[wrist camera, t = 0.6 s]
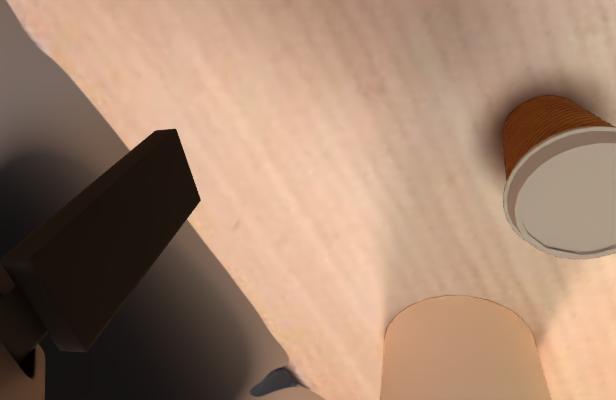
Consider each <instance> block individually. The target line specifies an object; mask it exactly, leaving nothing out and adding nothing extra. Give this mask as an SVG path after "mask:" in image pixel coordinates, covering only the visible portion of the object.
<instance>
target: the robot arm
mask: <svg viewBox="0 0 616 400" xmlns="http://www.w3.org/2000/svg"><path fill="white" fill-rule="evenodd" d="M200 201H201V199H200V196H199V194H198V191H197V188H196V185H195V182H194V179H193V176H192V173H191V170H190V168H189V165H188V162H187V159H186V156H185V153H184V150H183V147H182V145H181V142H180V139H179V136H178V133H177V130H176V129H167V130H156V131H154V132H153V133H152V134H151V135H149V136H148V137H147V138H146V139H145V140H143V141H142V142H141V143H140V144H139V145H137V146H136V147H135V148H134V149H133V150H131V151H130V152H129V153H128V154H127V155H125V156H124V157H123V158H122V159H121V160H119V161H118V162H117V163H116V164H115V165H114V166H112V167H111V168H110V169H109V170H107V171H106V172H105V173H104V174H102V175H101V176H100V177H99V178H98V179H96V180H95V181H94V182H93V183H92V184H90V185H89V186H88V187H87V188H86V189H84V190H83V191H82V192H81V193H80V194H78V195H77V196H76V197H75V198H73V199H72V200H71V201H70V202H69V203H67V204H66V205H65V206H64V207H63V208H61V209H60V210H59V211H58V212H57V213H55V214H54V215H53V216H52V217H51V218H49V219H48V220H47V221H46V222H45V223H43V224H42V225H41V226H40V227H39V228H37V229H36V230H35V231H34V232H32V233H31V234H30V235H29V236H28V237H26V238H25V239H24V240H23V241H22V242H21V243H19V244H18V245H17V246H16V247H14V248H13V249H12V250H11V251H10V252H8V253H7V254H6V255H5V256H4V257H2V258H1V259H0V400H45V355H44V352H43V350H42V349H41V348H40V346H39V342H40V341H41V340H42V339H43V338H44V337H45V336H46V334H47V333H48V334H49V335H50V336H51V338H52V339H53V341H54V342H55V344H56V345H57V347H58V348H59V350H60V351H75V352H88V350H89V349H90V348H91V346H92V345H93V343H94V342H95V341H96V340H97V338H98V337H99V335H100V334H101V333H102V332H103V330H104V329H105V328H106V326H107V325H108V323H109V322H110V321H111V319H112V318H113V317H114V315H115V314H116V313H117V311H118V310H119V309H120V307H121V306H122V305H123V303H124V302H125V301H126V299H127V298H128V297H129V295H130V294H131V293H132V291H133V290H134V289H135V287H136V286H137V285H138V283H139V282H140V281H141V279H142V278H143V277H144V275H145V274H146V273H147V271H148V270H149V269H150V267H151V266H152V265H153V263H154V262H155V261H156V259H157V258H158V257H159V255H160V254H161V253H162V251H163V250H164V249H165V247H166V246H167V245H168V243H169V242H170V241H171V239H172V238H173V237H174V235H175V234H176V233H177V231H178V230H179V229H180V227H181V226H182V225H183V223H184V222H185V221H186V219H187V218H188V217H189V215H190V214H191V213H192V211H193V210H194V209H195V207H196V206H197V205H198V203H199V202H200Z"/></svg>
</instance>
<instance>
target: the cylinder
mask: <svg viewBox="0 0 616 400" xmlns="http://www.w3.org/2000/svg"><path fill="white" fill-rule="evenodd" d="M380 400H552V399H551V396H550V392H549V389H548V386H547V382H546V379H545V375H544V372H543V368H542V365H541V362H540V358H539V355H538V351H537V348H536V344H535V341H534V337H533V334H532V332H531V330H530V329H529V328H528V326H527V325H526V324H525V322H524V321H523V320H522V319H521V318H520V317H518V316H517V315H516V314H514V313H513V312H512V311H510V310H509V309H508V308H505V307H503V306H501V305H498V304H496V303H494V302H491V301H489V300H484V299H480V298H475V297H470V296H442V297H436V298H430V299H426V300H423V301H421V302H418V303H416V304H413V305H411V306H409V307H407V308H406V309H405V310H403V311H402V312H400V313H399V314H398V315H396V317H395V318H394V319H393V321H392V322H391V323H390V325H389V326H388V328H387V331H386V335H385V338H384V351H383V365H382V379H381V393H380Z"/></svg>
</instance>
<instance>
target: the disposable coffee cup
mask: <svg viewBox="0 0 616 400" xmlns="http://www.w3.org/2000/svg"><path fill="white" fill-rule="evenodd" d="M502 137H503V148H504V160H505V169H506V180H507V182H506V185H505V188H504V195H503V207H504V211H505V215H506V218H507V221H508V222H509V224H510V225H511V227H512V228H513V230H514V231H515V232H516V233H517V234H518V235H519V236H520V237H521V238H522V239H523V240H525V241H527V242H528V243H530V244H531V245H533V246H534V247H536V248H537V249H539V250H541V251H543V252H545V253H547V254H550V255H553V256H557V257H560V258H568V259H591V258H598V257H602V256H606V255H611V254H614V253H616V127H614V126H612V125H610V124H609V123H607V122H605V121H603V120H602V119H600V118H598V117H597V116H595V115H594V114H592V113H590V112H588V111H587V110H585V109H583V108H582V107H580V106H578V105H577V104H575V103H573V102H572V101H570V100H568V99H566V98H563V97H559V96H541V97H537V98H534V99H531V100H529V101H527V102H525V103H523V104H521V105H520V106H519V107H517V108H516V109H515V110H514V111H513V112H512V113H511V114H510V116H509V118H508V119H507V121H506V123H505V125H504V128H503V133H502Z"/></svg>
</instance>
